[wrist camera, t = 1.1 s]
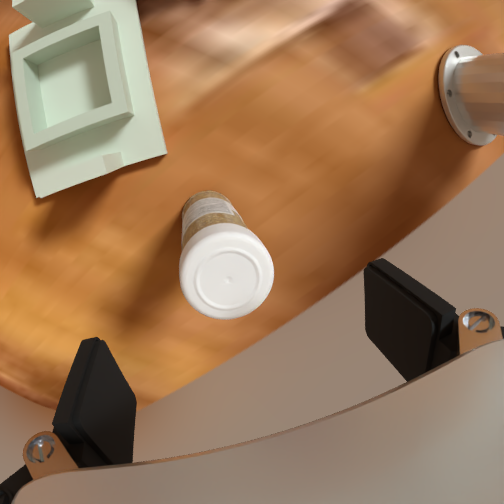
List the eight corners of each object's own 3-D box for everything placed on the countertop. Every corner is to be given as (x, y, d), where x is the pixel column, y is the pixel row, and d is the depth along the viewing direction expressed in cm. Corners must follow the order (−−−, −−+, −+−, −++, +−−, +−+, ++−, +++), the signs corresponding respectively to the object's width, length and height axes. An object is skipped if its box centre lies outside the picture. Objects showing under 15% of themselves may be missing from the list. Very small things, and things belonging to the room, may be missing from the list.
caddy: (134, -11, 19) (122, -51, 12) (167, 153, 25) (160, 157, 18) (14, 37, 18) (-24, 18, 11) (41, 195, 23) (3, 214, 17)
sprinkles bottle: (235, 238, 28) (276, 317, 16) (183, 243, 28) (185, 327, 15) (233, 187, 27) (276, 229, 14) (179, 190, 26) (173, 237, 14)
